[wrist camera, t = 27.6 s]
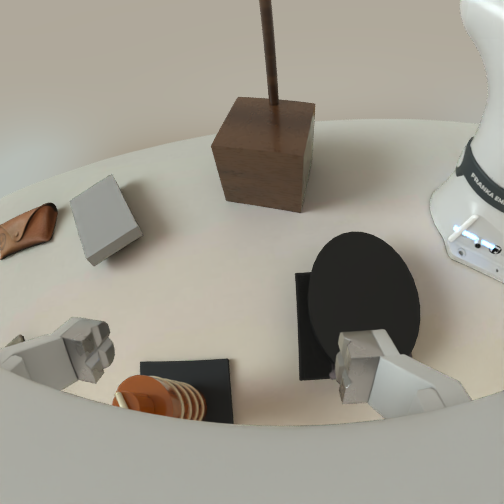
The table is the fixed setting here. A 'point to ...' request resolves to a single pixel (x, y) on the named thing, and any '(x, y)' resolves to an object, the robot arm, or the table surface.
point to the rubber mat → (200, 383)
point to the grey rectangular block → (103, 220)
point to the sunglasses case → (27, 229)
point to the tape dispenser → (353, 300)
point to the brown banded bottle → (161, 397)
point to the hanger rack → (266, 142)
